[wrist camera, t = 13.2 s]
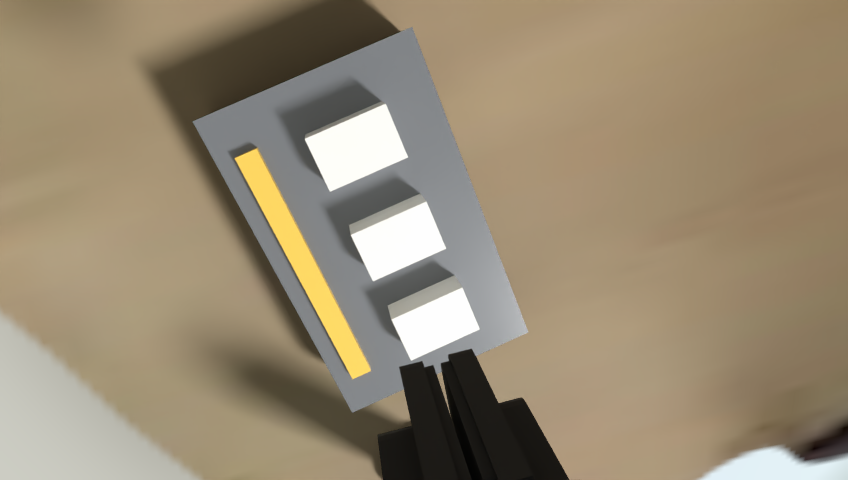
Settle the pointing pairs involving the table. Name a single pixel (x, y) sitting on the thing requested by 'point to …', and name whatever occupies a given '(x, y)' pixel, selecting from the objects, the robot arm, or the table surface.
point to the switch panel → (367, 216)
